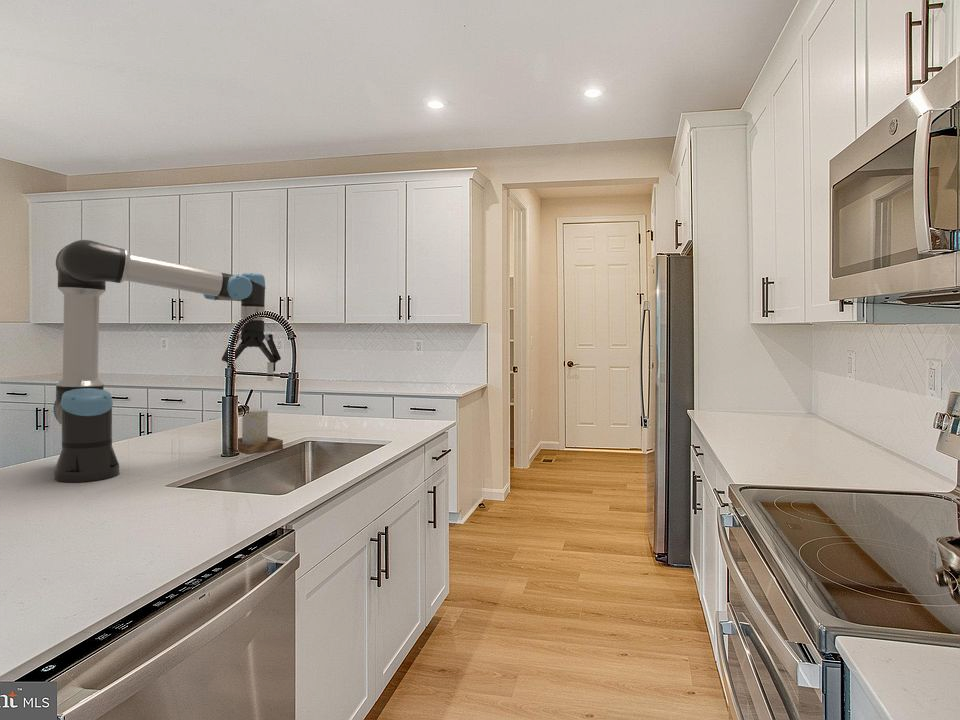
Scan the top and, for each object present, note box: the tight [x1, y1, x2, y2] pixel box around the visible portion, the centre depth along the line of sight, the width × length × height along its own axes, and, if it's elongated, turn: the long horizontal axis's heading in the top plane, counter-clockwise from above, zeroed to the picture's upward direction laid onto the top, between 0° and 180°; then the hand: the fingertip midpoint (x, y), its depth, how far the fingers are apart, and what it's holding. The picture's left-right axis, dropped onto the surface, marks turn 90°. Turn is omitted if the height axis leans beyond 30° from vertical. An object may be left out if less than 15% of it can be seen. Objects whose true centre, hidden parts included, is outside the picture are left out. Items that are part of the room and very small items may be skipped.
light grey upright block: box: [241, 408, 269, 444], centre depth 212 cm, size 8×8×12 cm
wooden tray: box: [237, 435, 284, 455], centre depth 212 cm, size 13×13×3 cm
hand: (251, 382), depth 211 cm, fingers open, 13 cm apart
